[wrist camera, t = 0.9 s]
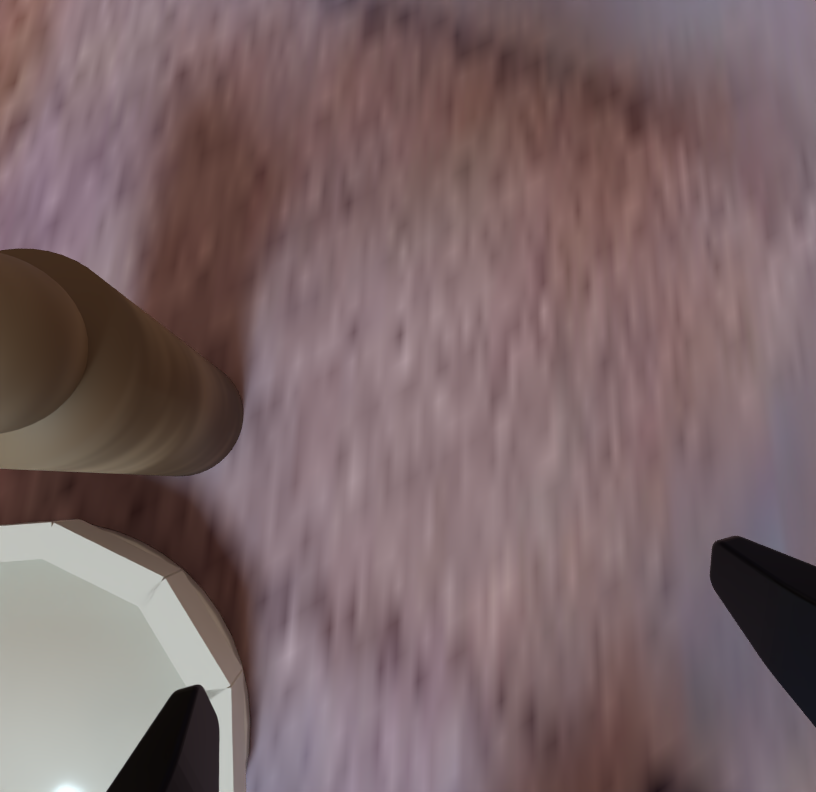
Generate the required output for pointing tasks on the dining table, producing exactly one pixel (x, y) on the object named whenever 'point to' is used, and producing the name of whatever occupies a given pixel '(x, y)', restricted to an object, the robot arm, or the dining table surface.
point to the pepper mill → (101, 379)
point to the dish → (103, 656)
